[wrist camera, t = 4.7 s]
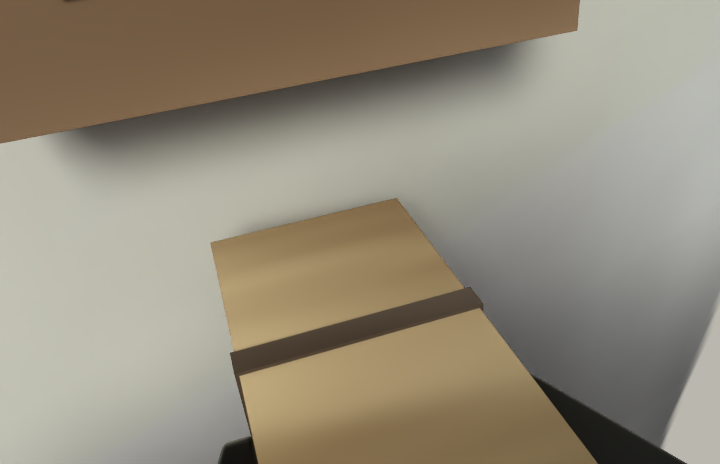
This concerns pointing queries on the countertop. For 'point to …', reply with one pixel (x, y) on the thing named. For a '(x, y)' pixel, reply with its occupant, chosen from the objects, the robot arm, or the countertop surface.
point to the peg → (375, 351)
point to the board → (226, 49)
